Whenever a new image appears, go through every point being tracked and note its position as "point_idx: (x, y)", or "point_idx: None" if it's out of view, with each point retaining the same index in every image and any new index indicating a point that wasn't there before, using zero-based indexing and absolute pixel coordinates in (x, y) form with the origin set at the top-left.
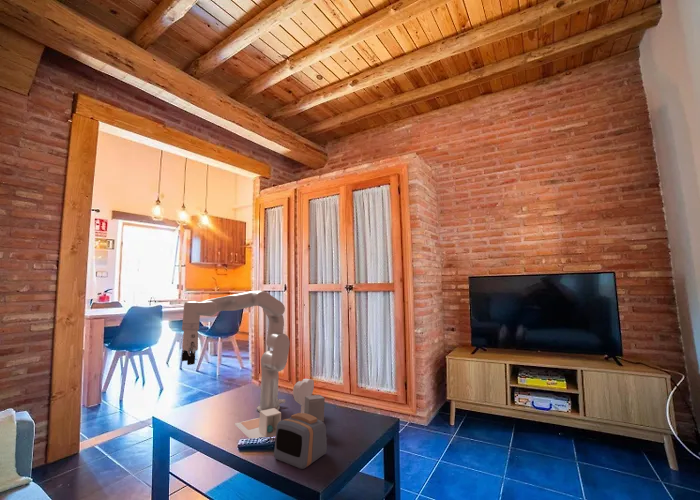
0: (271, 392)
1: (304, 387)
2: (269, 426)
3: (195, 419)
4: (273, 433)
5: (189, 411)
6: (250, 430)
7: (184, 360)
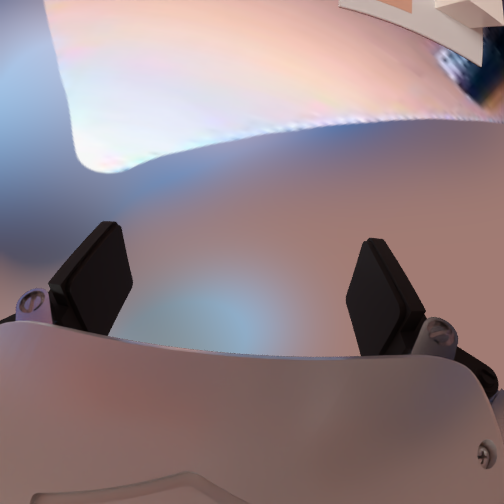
0: None
1: None
2: None
3: (196, 76)
4: None
5: (111, 81)
6: (418, 13)
7: (126, 267)
